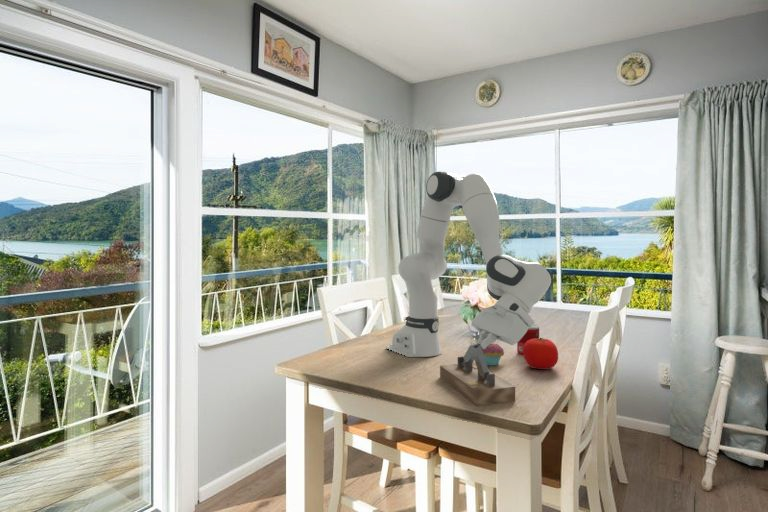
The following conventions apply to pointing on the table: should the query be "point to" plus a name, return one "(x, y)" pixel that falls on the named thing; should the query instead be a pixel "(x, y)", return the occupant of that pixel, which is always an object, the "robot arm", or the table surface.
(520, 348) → the canned food
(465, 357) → the grey knob lever
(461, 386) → the switch box
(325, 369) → the table surface
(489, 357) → the cupcake
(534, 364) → the tomato
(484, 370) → the cream knob lever
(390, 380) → the table surface
